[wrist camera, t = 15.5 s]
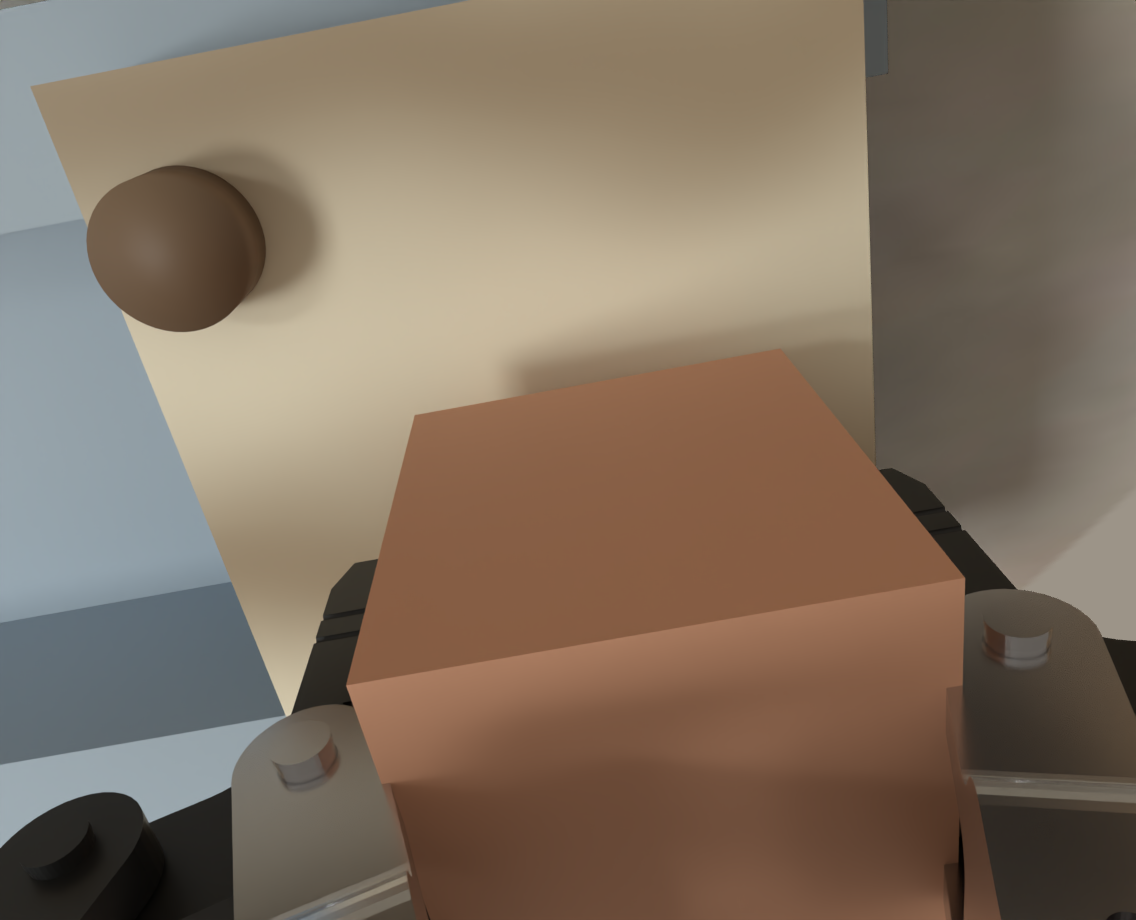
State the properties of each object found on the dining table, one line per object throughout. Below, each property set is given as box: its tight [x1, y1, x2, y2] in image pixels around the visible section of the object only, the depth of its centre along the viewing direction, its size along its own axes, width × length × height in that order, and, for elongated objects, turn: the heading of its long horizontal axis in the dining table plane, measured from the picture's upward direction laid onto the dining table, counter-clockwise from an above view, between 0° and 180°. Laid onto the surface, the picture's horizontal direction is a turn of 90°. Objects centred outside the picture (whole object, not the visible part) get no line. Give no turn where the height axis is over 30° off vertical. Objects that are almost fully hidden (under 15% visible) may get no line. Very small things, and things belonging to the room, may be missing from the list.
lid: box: [30, 0, 876, 717], centre depth 14 cm, size 13×10×3 cm
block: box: [346, 348, 965, 920], centre depth 10 cm, size 4×4×5 cm
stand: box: [0, 0, 888, 848], centre depth 18 cm, size 15×27×7 cm, turn 100°
